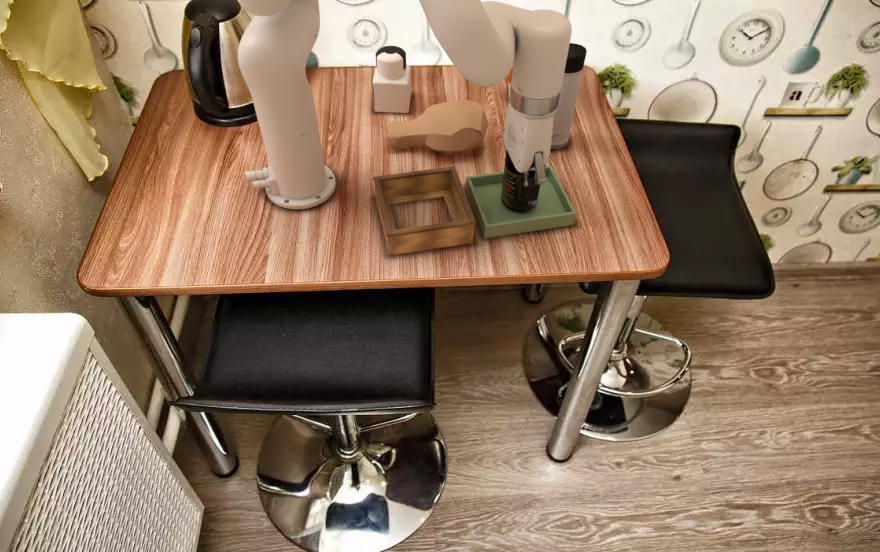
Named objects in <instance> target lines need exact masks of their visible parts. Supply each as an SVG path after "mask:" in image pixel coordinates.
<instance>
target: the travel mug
mask: <svg viewBox="0 0 880 552" xmlns="http://www.w3.org/2000/svg"><path fill="white" fill-rule="evenodd" d="M587 52H588V50H587V48H586V46H583V45H582V44H579V43H575V42H570V44H569V50H568V55H567V60H566V66H565V71H564V77H563V82H562V87H561V93H560V98H559V104H558V109H557V111H556V112H555V113H554V114H553V131H552V141H551V149H550V150H560V149H563V148H564V147H566V146H567V145H568V143H569V139H570V134H571V129H572V126H573V120H574V117H575V111H576V107H577V101H578V96H579V93H580V92H579V91H580V87H581V82H582V77H583V73H584V69H585V61H586V57H587Z"/></svg>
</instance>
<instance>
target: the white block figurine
mask: <svg viewBox="0 0 880 552" xmlns="http://www.w3.org/2000/svg"><path fill="white" fill-rule="evenodd" d="M411 72H412V71H411V65H410V64H407V52H406V51H405V50H404V49H403V48H402V47H400V46H396V45H386V46H381V47H380V48H378V49H377V51H375V69H374V73H373V78H372V93H373V108H374V112H375V113H395V114H409V112H410V104H411V97H412V82H411V81H412V79H411V78H412V77H411V75H412V73H411Z"/></svg>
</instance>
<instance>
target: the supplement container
mask: <svg viewBox="0 0 880 552" xmlns="http://www.w3.org/2000/svg"><path fill="white" fill-rule="evenodd" d="M504 155H505V157H504V165H503V171H502V172H503V180H502V189H501V202H502V204H503V205H504V206H505V207H506V208H507V209H509V210H511V211H513V212H519V213H522V212H527V211H530V210H532V209H533V208H534V207H535V206H536V205H537V203H538V199H537V200H535V201H528V202H520V201H519V193H520V186H521V183H522V182H523V172H522V173H520V172H519V171H518V170H517V169H516V168H515V166H514V164H513V162H512V160H511V158H510V156H509V154H508V151H507V149H506V150H505V154H504ZM531 166H534V163H532V165H531ZM528 175H529V178H534V177H535V171H528ZM540 187H541V185H540ZM539 192H540V188H539ZM538 198H539V193H538Z"/></svg>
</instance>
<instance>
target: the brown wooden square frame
mask: <svg viewBox="0 0 880 552" xmlns="http://www.w3.org/2000/svg"><path fill="white" fill-rule="evenodd" d="M372 179H373V182H374V183H373V185H374V195H375V202H376V206H377V211H378V214H379V218H380V223H381V227H382V232H383V237H384V240H385V245H386V249H387V254H388V256H395V255H396V256H397V255H402V254H409V253H415V252H421V251H422V252H423V251H428V250H436V249H442V248H448V247H456V246H461V245H468V244H473V243H474V235H475V234H474V233H475V225H476V220H475V218H474V215H473V211H472V210H471V207H470V204H469V201H468V198H467V196H466V194H465V191H464V187H463V186H462V185H463V184H462V183H461V180H460V177H459V175H458V172H457V169H456V166H445V167H437V168H429V169H422V170H415V171H414V170H413V171H408V172H407V171H406V172H400V173H393V174H385V175H384V174H383V175H378V176H373V178H372ZM442 198H444V201H445V204H446V206H447V209H448V213H449V215H450V219H451V221H447V222H441V223H434V224H433V223H432V224H426V225H420V226H412V227H407V228H405V227H404V228H399V229H398V228H396V224H395V219H394V215H393V212H392V208H391V206H392V205H398V204H405V203H411V202H412V203H413V202H419V201H428V200H433V199H442Z"/></svg>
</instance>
